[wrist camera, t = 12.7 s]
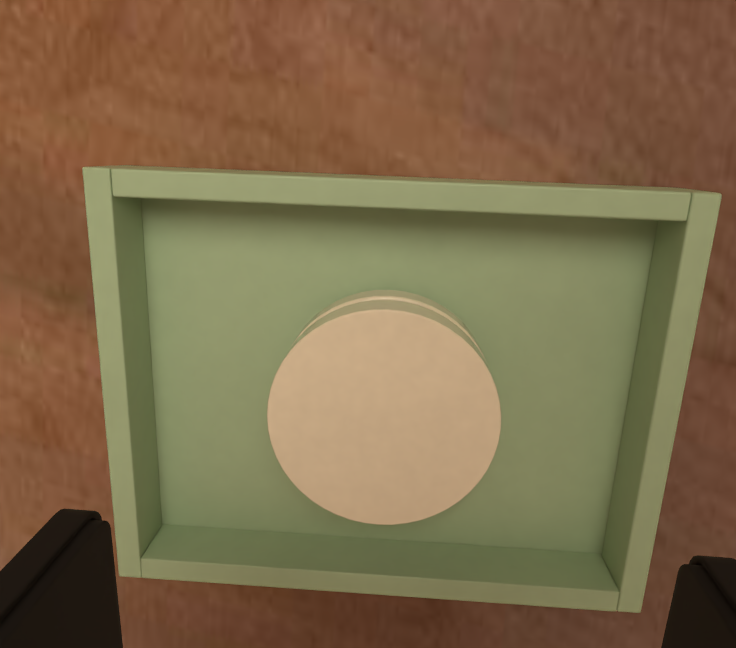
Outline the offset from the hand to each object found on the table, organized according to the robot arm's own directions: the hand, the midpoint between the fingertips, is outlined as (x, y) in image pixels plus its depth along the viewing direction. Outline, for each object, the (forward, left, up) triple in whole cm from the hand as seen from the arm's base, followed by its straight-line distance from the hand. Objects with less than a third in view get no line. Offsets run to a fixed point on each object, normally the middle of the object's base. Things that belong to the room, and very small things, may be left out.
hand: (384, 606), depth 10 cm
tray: (0, 0, -11) cm, 11 cm away
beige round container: (0, 0, -11) cm, 11 cm away
